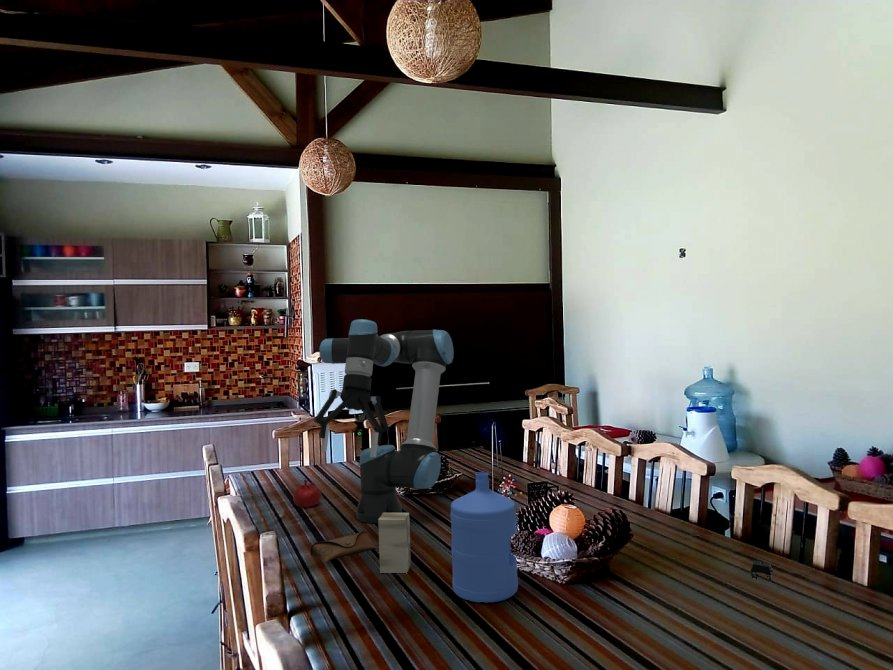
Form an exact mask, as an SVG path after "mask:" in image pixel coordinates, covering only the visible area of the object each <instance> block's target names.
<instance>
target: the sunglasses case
mask: <svg viewBox="0 0 893 670" xmlns="http://www.w3.org/2000/svg"><path fill="white" fill-rule="evenodd" d="M376 548H377V549H379V546H376V544H375V543H374V542H373V540H372V539H371V538H370V536H369V535H368V534H367V531H366V530H363V531H360V532H357V533H354V534H349V535H345V536H340V537H336V538H332V539H329V540H322V541H317V542H314V543H313V544H312V545H311V547H310V556H311V555H313V556H314V557H313V556H312V557H313V558H315V557H317V558H318V559H320V560H323V561H329V562H331V561H330V560H332V561H334V560H333V559H335V560H338V559H337V558H339V559H341V558H340V557H342V558H345V557H344V556H346V557H349V556H353V555H356V553H357V554H360V552H361V553H364V551H365V552H367V551H368V550H369V551H373V550H377V549H376ZM372 549H373V550H372ZM369 551H368V552H369ZM352 554H353V555H352ZM348 555H349V556H348ZM317 558H316V559H317ZM318 559H317V560H318ZM320 560H319V561H320ZM323 561H322V562H323Z"/></svg>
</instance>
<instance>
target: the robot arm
mask: <svg viewBox="0 0 893 670" xmlns="http://www.w3.org/2000/svg"><path fill="white" fill-rule="evenodd" d="M318 350H319V357H320V359H321V361H322V362H323V363H325V364H332V365H336V364H338V365H339V364H345V365H344V376H343V381H342V388H341V389H342V390H341V391H339V390H337V389H335V388H334V389H332V390H330V392H329V396H328V398H327V400H326V401H325V403H324V404H323V406H322V407H321V409H320V410H319V411H318V413H317V414H316V416H315V417H314V419H313V422H314V423H315V424H318V425H319V428H320V429H319V435H318V436H319V437H318V438H319V439H322V441H321V447H320V452H321V453H322V452H323V453H326V452H327V450H328V442H329V436H330V425H328V424H329V423H330V422H332V421H333V420H334V419H335V418H336V417H337V416H338V415H339V414H340V413H341V412H342V411H343V410H345V408H346V409H347V410H354V411H357V412H359V411H361V412H362V413H363V414H364V416H365V417H366V419H367V421H368V422H369V424H370V425H371V427H372V429H373V430H374V431H375V432H372V436H371V437H372V438H371V446H370V447H369V448H366V449H363V450H362V451H361V452H360V454H359V474H360V475H359V476H360V497H359V500H358V504H357V508H356V512H355V513H356V519H357V521H359V522H362V523H366V524H368V523H369V524H378V519H379V518H380V517H381V515H382V514H383V513H403V509H402V505H401V502H400V500H399V497H398V494H397V488H409V489H416V490H422V489H424V490H428V489H430V488H432V487H433V486H435V484H436V483H437V481H438V479H439V476H440V472H441V468H442V467H441V466H442V463H441V456H440V454H439V453H438V452H437V448H436V446H435V445H434V444H433V438H434V431H435V422H436V414H437V407H438V400H439V399H438V398H439V397H438V396H439V391H440V389H439V388H440V381H441V374H443V373H444V372H445V371H446V368H447V365H450V364H451V363H453V360H454V353H455V351H454V345H453V339H452V337H451V336H450V334H449V332H447V331H445V330H444V329H443V330H441V329H430V330H429V329H427V330H426V329H424V330H403V331H398V332H392V333H384V334H382V335H378V325H377V323H376V321H373V320H370V319H363V318H361V319H354V320H352V321H351V323H350V327H349V331H348V337H341V338H340V337H339V338H338V337H337V338H334V337H332V338H324V339H323V340H322V341H321V342H320V345H319V349H318ZM392 363H399V364H400V363H401V364H408V365H409V364H412V365H411V366H412V368H413V370H414V371H415V372H414V373H415V375H414V382H413V388H412V396H411V403H410V404H411V405H410V411H409V418H408V424H407V425H408V427H407V434H406V440H404V441H403V442H402V443H401V445H400V449H399V450H396V447H395V446H394V445H393V444H384V445H381V443H382V434H384V432H385V433H386V432H388V431H390V427H389V424H388V420H387V419H386V415H385V411H384V410H383V407H382V398H381V396H380V395H377V396H371V387H372V378H371V376H373V368H374V367H373V366H374V364H375V365H376V366H379V367H387V366H390V365H391V364H392ZM339 397H340V398H339ZM338 398H339V399H341V402H340V404H339V405H338V406H337V407H336V408H334V410H332V412H330V413H329V414H328V415H327V416H326V417H325V415H326V413H327V412H328V411H329V409H330V408H331V406H332V405H333V403H334V401H335V400H336V399H338ZM370 402H371V404H372V405H373V408H374V411H375V414H376V416H377V418H376V417H375V415H374V413H373V412H372V410H371V407H370V406H369V403H370ZM324 417H325V418H324ZM323 418H324V419H323ZM377 419H378V420H377Z"/></svg>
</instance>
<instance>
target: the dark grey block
mask: <svg viewBox="0 0 893 670" xmlns="http://www.w3.org/2000/svg"><path fill="white" fill-rule="evenodd" d="M750 572H751V573H750V574H751V576H752V578H756V579H757V577H758V576H759V575H760V574H764V576H767V577H769V580H770V581H771V578H773V572H774V570H773V567H772V566H771V562H768V561H763V563H762V561H761V560H754V561H753V562H752V565H751V569H750ZM766 580H768V579H767V578H766Z"/></svg>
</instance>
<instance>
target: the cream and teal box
mask: <svg viewBox="0 0 893 670" xmlns="http://www.w3.org/2000/svg"><path fill="white" fill-rule="evenodd" d="M377 525H378V544H379V545H378V549H379V574H380V573H406V574H405V575H407V574H408V573H407V572H409V570H410V567H411V566H410V565H411V564H412V561H411V534H410V533H411V532H410V528H411V527H410V512H402V513H383V514H382V515H381V517H380V518H379V519H378V523H377Z"/></svg>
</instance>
